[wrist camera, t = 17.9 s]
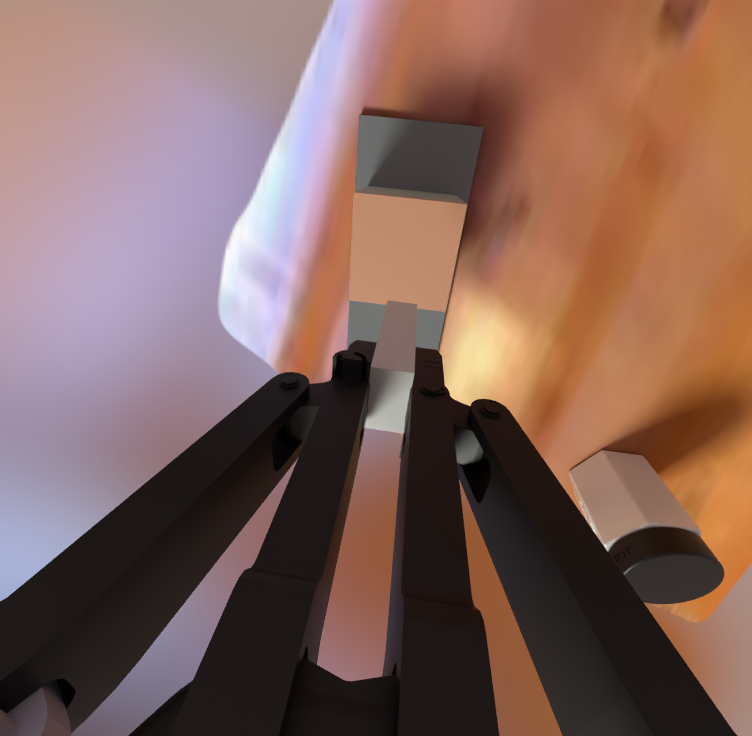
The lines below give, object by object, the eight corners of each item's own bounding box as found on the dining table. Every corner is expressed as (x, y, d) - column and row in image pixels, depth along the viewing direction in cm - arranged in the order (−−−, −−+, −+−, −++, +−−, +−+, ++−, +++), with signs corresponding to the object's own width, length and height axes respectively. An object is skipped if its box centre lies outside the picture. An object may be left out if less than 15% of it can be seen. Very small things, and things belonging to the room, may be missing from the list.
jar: (562, 457, 40) (612, 559, 30) (641, 439, 38) (725, 543, 27) (576, 506, 44) (624, 611, 33) (649, 492, 41) (725, 601, 31)
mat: (360, 115, 25) (359, 114, 25) (482, 127, 25) (483, 126, 25) (344, 413, 40) (343, 415, 39) (421, 423, 40) (421, 426, 39)
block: (348, 300, 25) (362, 273, 31) (445, 311, 25) (440, 282, 31) (353, 192, 21) (367, 185, 27) (467, 204, 21) (456, 195, 27)
